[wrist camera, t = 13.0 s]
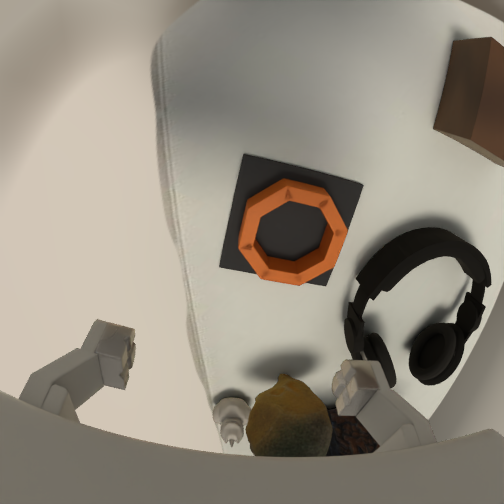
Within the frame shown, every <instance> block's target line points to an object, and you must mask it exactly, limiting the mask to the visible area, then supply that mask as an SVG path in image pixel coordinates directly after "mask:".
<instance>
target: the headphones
mask: <svg viewBox="0 0 504 504" xmlns="http://www.w3.org/2000/svg"><path fill="white" fill-rule="evenodd" d="M442 256H450V257H454V258H456V260H457V261H458V262H459V263H460V265H461V267H462V269H463V271H464V272H465V273H466V274H467V275H468V276H470V277H471V278H472V279H473V282H472V289H471V293H470V292H466V296H465V299H464V302H463V303H462V304H461V305H460V307H459V309H458V312H457V321H456V323H455V324H454V323H435V324H432V325H431V326H429V327H427V328H426V329H425V330H424V331H422V332H421V333H420V335H419V336H418V337H417V339H416V340H415V342H414V344H413V346H412V349H411V352H410V356H409V369H410V372H411V374H412V375H413V376H414V377H415V378H417V379H418V380H419V381H420V382H421V383H422V384H424V385H436V384H439V383H441V382H443V381H444V380H446V379H447V378H448V377H449V376H451V375H452V373H453V372H454V371H455V370H456V368H457V366H458V365H459V363H460V361H461V358H462V355H463V352H464V345H465V343H466V341H467V340H468V338H469V337H470V335H471V334H472V332H473V331H475V330H476V329H477V328H478V327H479V325H480V322H481V318H482V314H483V312H484V310H485V308H486V307H485V306H484V305H483V304H482V301H483V297H484V293H485V286H486V287H487V288H488V287H489V286H490V285H491V273H490V269H489V265H488V262H487V260H486V259H485V257H484V256H483V254H482V253H481V252H480V251H479V250H478V249H477V248H475V247H474V246H473V245H471V244H469V243H468V242H466V241H465V240H463V239H461V238H460V237H458V236H456V235H455V234H453V233H451V232H449V231H447V230H445V229H441V228H421V229H416V230H412V231H409V232H407V233H404V234H402V235H400V236H398V237H397V238H395V239H393V240H392V241H390V242H389V243H388V244H386V245H385V246H384V247H383V248H382V249H381V250H380V251H378V252H377V253H376V254H375V255H374V256H373V258H372V259H371V260H370V261H369V262H368V263H367V264H366V266H365V267H364V268H363V269H362V271H361V272H360V273H359V275H358V276H357V277H356V280H357V281H358V282H359V284H360V286H359V288H358V290H357V293H356V295H355V299H354V302H349V305H348V314H347V318H346V319H345V322H344V331H345V338H346V343H347V346H348V349H349V351H350V353H351V356H352V359H353V360H366V361H378V362H379V363H380V364H381V367H382V369H383V372H384V374H385V377H386V379H387V382H388V384H389V387H390V388H392V387H394V386H395V384H396V374H395V370H394V366H393V363H392V360H391V357H390V355H389V352H388V350H387V347H386V345H385V343H384V342H383V340H382V338H381V337H380V336H379V335H378V334H377V333H371V334H370V335H368V337H367V336H366V337H365V336H364V334H363V327H364V323H365V322H364V321H363V319H362V314H363V312H364V309H365V307H366V304H367V302H368V300H369V298H371V299H372V300H375V298H376V297H377V296H378V294H379V293H380V292H381V291H386V292H388V291H390V290H391V289H392V288H393V287H394V286H395V285H396V284H397V283H398V282H399V281H400V280H401V279H402V278H403V277H404V276H405V275H406V274H408V273H409V272H410V271H411V270H413V269H414V268H416V267H417V266H419V265H421V264H422V263H424V262H426V261H428V260H431V259H434V258H437V257H442Z"/></svg>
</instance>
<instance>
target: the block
mask: <svg viewBox="0 0 504 504" xmlns="http://www.w3.org/2000/svg"><path fill="white" fill-rule="evenodd" d="M433 129H434V130H437V131H439V132H440V133H442V134H444V135H446V136H448V137H450V138H452V139H454V140H456V141H458V142H460V143H461V144H463V145H465V146H467V147H469V148H470V149H472V150H474V151H476V152H477V153H479V154H481V155H482V156H484V157H486V158H487V159H489V160H491V161H492V162H494V163H496V164H498V165H500V166H502V167H504V47H503V46H502V45H501V44H500V43H498V42H497V41H496V40H495V39H494V38H492V37H485V38H474V39H464V40H456V41H453V46H452V51H451V57H450V62H449V67H448V71H447V76H446V81H445V85H444V89H443V93H442V97H441V101H440V105H439V109H438V113H437V117H436V120H435V124H434V127H433Z"/></svg>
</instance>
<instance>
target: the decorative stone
mask: <svg viewBox="0 0 504 504" xmlns="http://www.w3.org/2000/svg"><path fill="white" fill-rule="evenodd" d="M255 401H256V402H255V404H254V406H253V408H252V410H251V411H250V414H249V418H248V423H247V426H246V434H247V438H248V441H249V443H250V449H251V451H252V452H253V454H254V455H255V456H264V457H325V456H326V454H327V451H328V448H329V445H330V441H331V437H332V425H331V422H330V419H329V416H328V412H327V409H326V406H325V405H324V403H323V402H322V401H321V399H320V398H318V397H317V396H316V395H315V394H314V393H313V392H312V391H311V390H310V388H309V387H308V386H307V385H306V384H305V383H304V382H302V381H300V380H296V379H294V378H292V377H290V376H289V375H287V374H282V373H281V374H280V375H279V377H278V382H277V383H276V384H275V385H274V386H273V387H272V388H270V389H268V390H266V391H264V392H262V393H260V394H259V395H258V396H257V397H256V398H255Z"/></svg>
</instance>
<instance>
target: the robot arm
mask: <svg viewBox="0 0 504 504" xmlns="http://www.w3.org/2000/svg"><path fill="white" fill-rule="evenodd" d="M134 338H135V329H133V328H128V327H125V326H121V325H117V324H114V323H109V322H105V321H102V320H98V319H97V320H96V321H95V322H94V323H93V325H92V327H91V329H90V331H89V333H88V335H87V337H86V339H85V341H84V343H83V345H82V347H81V349H79V348H76V349H75V350H73V351H71V352H69V353H68V354H66V355H64V356H62V357H60V358H59V359H57V360H55V361H54V362H52V363H50V364H48V365H46V366H45V367H43V368H41V369H39V370H38V371H36V372H34V373H32V374H31V376H30V377H29V380H28V382H27V383H26V385H25V387H24V389H23V391H22V393H21V395H20V397H19V399H17V398H15V397H13V396H10V395H8V394H6V393H4V392H2V391H0V504H504V437H503V436H502V435H501V434H499V433H498V432H496V431H495V430H493V429H486V430H483V431H480V432H476V433H473V434H469V435H465V436H462V437H458V438H454V439H450V440H445V441H441V442H437V440H436V438H435V435H434V433H433V430H432V428H431V425H430V423H429V421H428V420H427V419H426V418H425V417H424V416H423V415H422V414H420V413H419V412H418V411H417V410H416V409H415V408H414V407H412V406H411V405H410V404H409V403H408V402H407V401H406V400H404V399H403V398H402V397H401V396H400V395H399V394H398V393H396V392H395V391H394V390H391V389H390V387H389V384H388V382H387V379H386V377H385V374H384V372H383V369H382V367H381V364H380V363H379V362H378V361H366V360H345V361H343V363H342V364H341V369H342V370H340V371H338V372H337V373H336V374H335V376H334V378H333V381H332V391H333V394H334V395H335V396H336V397H337V398H338V399H337V400H336V402H335V404H336V408H337V412H338V416H356V417H357V419H358V420H359V421H360V422H361V423H362V425H363V426H364V427H365V428H366V429H367V431H368V432H369V433H370V434H371V436H372V437H373V438H374V439H375V440H376V442H377V443H378V444H379V445H380V447H379V448H378V449H377V450H375V451H374V452H373V453H368V454H358V455H346V456H329V457H264V456H246V455H234V454H223V453H214V452H206V451H198V450H192V449H185V448H179V447H173V446H168V445H162V444H157V443H153V442H148V441H143V440H139V439H135V438H130V437H126V436H122V435H118V434H115V433H111V432H107V431H104V430H101V429H97V428H94V427H91V426H87V425H84V424H81V423H80V421H79V419H78V417H77V414H76V412H75V410H76V409H77V408H78V407H79V406H80V405H82V404H83V403H84V402H85V401H87V400H88V399H89V398H90V397H91V396H93V395H94V394H95V393H96V392H97V391H99V390H100V389H101V388H102V387H103V386H104V385H106V386H110V387H114V388H118V389H123V390H125V388H126V385H127V382H128V379H129V369H131V368H132V366H133V362H134V358H135V349H136V346H135V343H134V342H133V341H134Z"/></svg>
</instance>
